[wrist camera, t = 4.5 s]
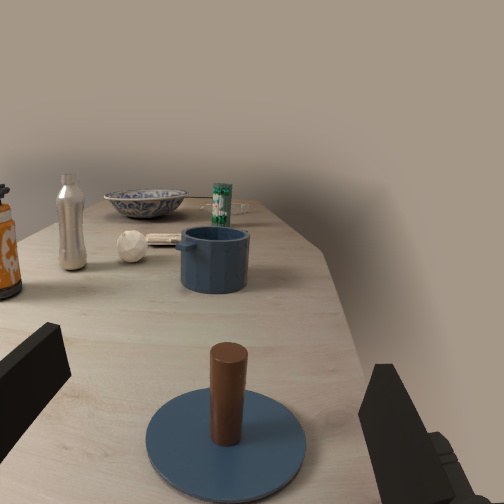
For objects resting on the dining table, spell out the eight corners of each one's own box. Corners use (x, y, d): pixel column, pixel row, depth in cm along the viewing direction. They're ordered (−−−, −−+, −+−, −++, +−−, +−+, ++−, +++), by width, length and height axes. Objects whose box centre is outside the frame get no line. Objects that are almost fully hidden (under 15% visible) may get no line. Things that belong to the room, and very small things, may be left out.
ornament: (152, 263, 68) (134, 239, 62) (124, 272, 69) (106, 249, 63) (154, 241, 73) (138, 217, 67) (128, 250, 74) (111, 227, 68)
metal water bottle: (54, 271, 58) (49, 176, 52) (68, 262, 64) (65, 174, 59) (79, 274, 58) (75, 175, 53) (92, 264, 65) (89, 173, 59)
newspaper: (144, 248, 80) (143, 238, 79) (148, 241, 91) (148, 233, 91) (230, 248, 85) (230, 239, 84) (224, 241, 96) (224, 233, 96)
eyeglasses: (230, 215, 137) (230, 206, 136) (198, 209, 146) (199, 201, 145) (249, 212, 150) (250, 203, 149) (219, 207, 159) (219, 199, 158)
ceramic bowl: (107, 211, 132) (107, 188, 129) (181, 209, 144) (182, 188, 141) (100, 226, 101) (99, 197, 98) (195, 224, 113) (197, 196, 110)
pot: (265, 277, 66) (269, 232, 63) (207, 305, 51) (209, 248, 49) (217, 263, 72) (219, 222, 70) (157, 284, 58) (156, 234, 55)
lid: (327, 430, 26) (353, 341, 23) (246, 536, 15) (259, 461, 12) (213, 379, 33) (215, 295, 30) (116, 443, 22) (91, 349, 19)
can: (208, 226, 112) (210, 183, 108) (220, 224, 116) (222, 183, 112) (221, 229, 108) (223, 184, 104) (232, 227, 113) (235, 184, 109)
